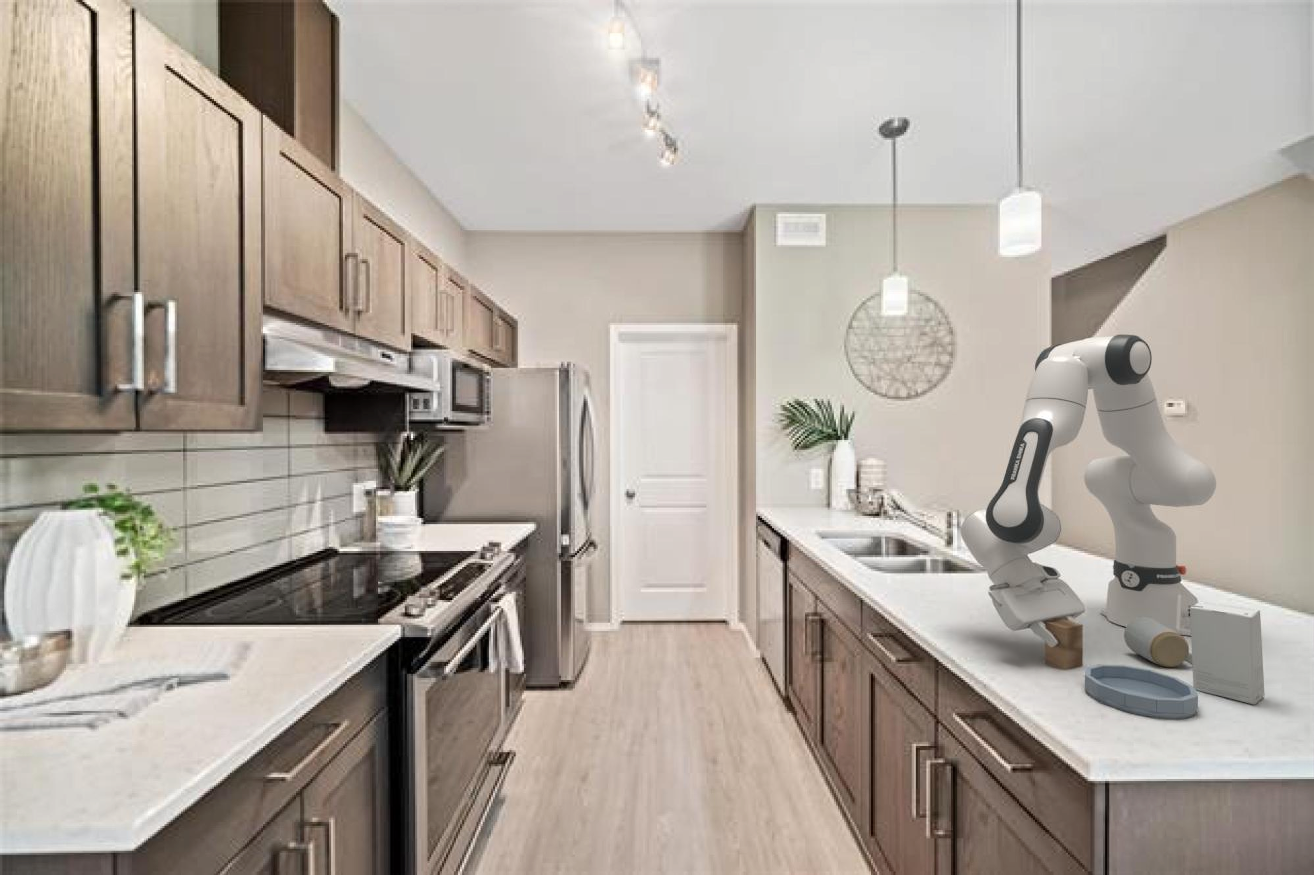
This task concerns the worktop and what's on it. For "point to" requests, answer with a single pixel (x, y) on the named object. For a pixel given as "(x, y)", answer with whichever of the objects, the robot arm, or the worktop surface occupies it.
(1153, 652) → the ceramic mug
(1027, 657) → the worktop surface
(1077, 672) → the worktop surface
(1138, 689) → the slate bowl
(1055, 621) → the walnut block
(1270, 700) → the worktop surface
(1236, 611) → the skincare box
